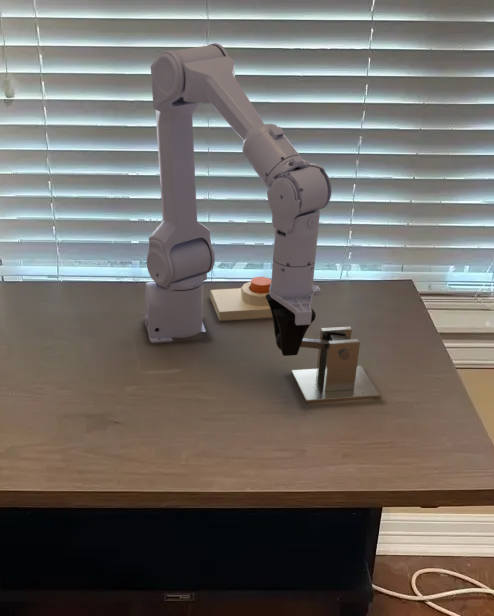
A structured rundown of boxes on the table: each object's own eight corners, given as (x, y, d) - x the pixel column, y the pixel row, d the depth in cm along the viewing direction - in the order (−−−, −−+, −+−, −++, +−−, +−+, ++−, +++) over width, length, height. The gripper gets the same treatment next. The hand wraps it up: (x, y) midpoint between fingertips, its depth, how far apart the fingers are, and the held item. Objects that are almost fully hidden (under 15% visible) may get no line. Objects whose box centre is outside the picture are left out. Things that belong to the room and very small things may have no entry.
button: (252, 295, 157) (253, 285, 156) (248, 286, 160) (248, 277, 159) (273, 294, 157) (274, 284, 156) (268, 285, 160) (269, 276, 159)
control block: (219, 321, 156) (219, 302, 154) (210, 298, 163) (210, 280, 161) (288, 316, 157) (290, 297, 155) (276, 294, 164) (277, 276, 162)
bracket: (305, 406, 133) (311, 352, 128) (290, 375, 140) (295, 323, 135) (379, 400, 134) (387, 346, 129) (360, 370, 142) (367, 318, 136)
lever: (276, 354, 131) (281, 335, 129) (271, 344, 133) (276, 325, 132) (348, 361, 133) (353, 342, 131) (342, 351, 136) (347, 333, 134)
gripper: (337, 279, 119) (327, 371, 127) (309, 237, 131) (301, 324, 139) (284, 282, 118) (277, 374, 126) (260, 240, 130) (255, 327, 138)
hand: (286, 348), depth 132 cm, fingers closed on lever, 3 cm apart
